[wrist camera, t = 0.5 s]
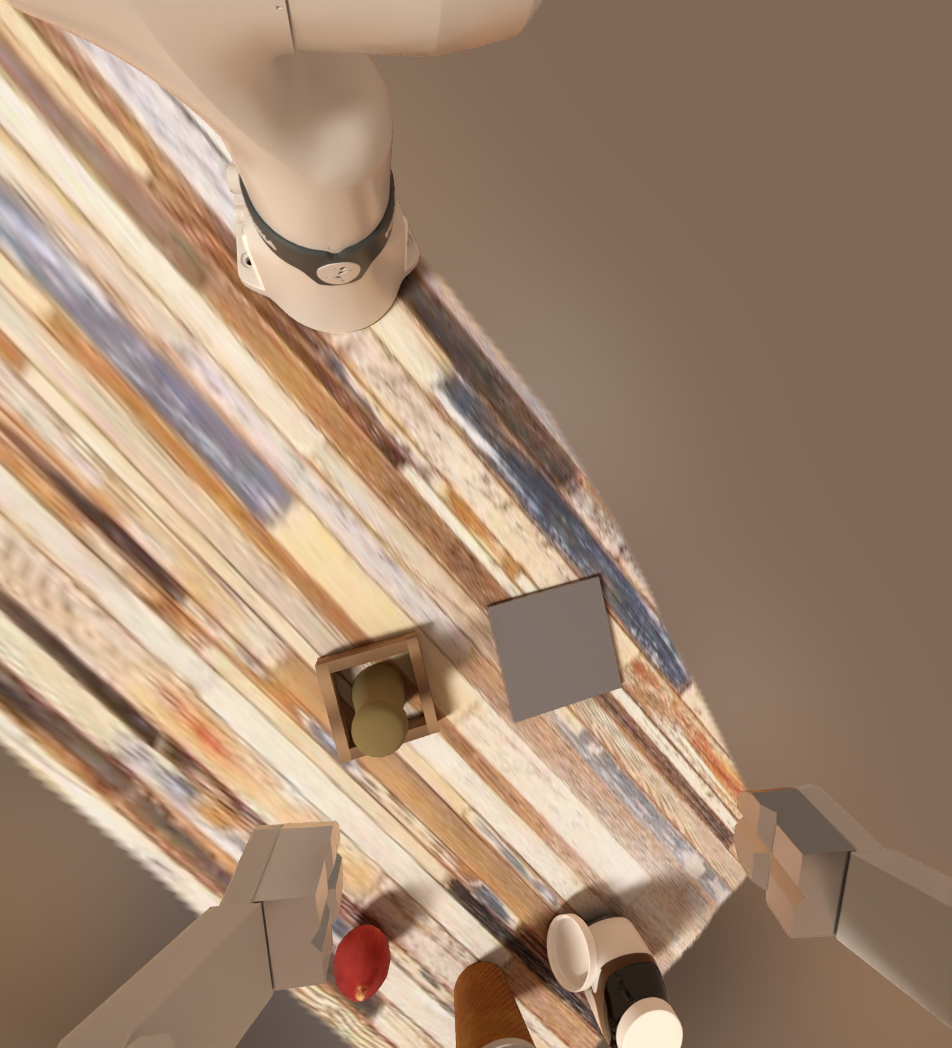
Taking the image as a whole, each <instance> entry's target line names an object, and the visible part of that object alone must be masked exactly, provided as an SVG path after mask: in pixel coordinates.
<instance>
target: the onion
mask: <svg viewBox="0 0 952 1048" xmlns="http://www.w3.org/2000/svg"><path fill="white" fill-rule="evenodd" d="M389 965H390V950H389V945H388V941H387V938H386V937H385V935H384V934H383V933H382V932H381V930H380V929H378V928H377V927H375V926H373V925H362V926H359V927H356V928H354V929H353V930H351V931H350V932H348V933H347V935H346V936H345V937H344V938H343V940H342V941H341V942H340V943H339V945H338V947H337V950H336V954H335V958H334V963H333V967H334V976H335V981H336V985H337V987H338V988H339V990H340V991H341V993H342V994H343V996H345V997H346V998H348V999H350V1000H351V1001H354V1002H362V1001H364V1000H367V999H369V998H371V997H372V996H373V995H374V994H375V993H376V992H377V990H378V989H379V988H380V987H381V985H382V983H383V982H384V980H385V979H386V977H387V974H388V970H389Z"/></svg>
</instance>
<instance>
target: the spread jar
mask: <svg viewBox="0 0 952 1048" xmlns="http://www.w3.org/2000/svg"><path fill="white" fill-rule="evenodd" d="M547 954H548V959H549V963H550V966H551V969H552V972H553V974H554V976H555V978H556V979H557V981H558V982H559V984H560V985H561V986H562V987H563V988H564V989H566V990H567V991H570V992H579V991H583V990H584V992H585V994H586V997H587V999H588V1002H589V1004H590V1007H591V1009H592V1011H593V1013H594V1016H595V1018H596V1020H597V1023H598V1025H599V1027H600V1029H601V1032H602V1034H603V1036H604V1038H605V1039H606V1041H607V1043H608V1044H609V1046H610V1047H611V1048H680V1047H681V1043H682V1037H683V1032H682V1026H681V1024H680V1021H679V1019H678V1018H677V1016H676V1015H675V1013H674V1011H673V1010H672V1008H671V1006H670V1003H669V998H668V994H667V990H666V987H665V984H664V981H663V978H662V975H661V972H660V970H659V968H658V966H657V963H656V961H655V959H654V958H653V956H652V954H651V952H650V951H649V949H648V947H647V946H646V944H645V943H644V941H643V939H642V938H641V936H640V935H639V933H638V931H637V930H636V928H635V927H634V926H633V924H632V923H631V922H630V921H629V920H628V919H626V918H624V917H621V916H604V917H600V918H597V919H595V920H593V921H591V922H590V923H588V924H586V923H585V922H584V921H583V920H582V919H581V918H580V917H579V916H577V915H575V914H571V913H570V914H561V915H558V916H556V917H555V918H554V919H553V920H552V922H551V924H550V926H549V929H548V934H547Z"/></svg>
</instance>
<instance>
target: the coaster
mask: <svg viewBox="0 0 952 1048" xmlns="http://www.w3.org/2000/svg"><path fill="white" fill-rule="evenodd" d="M486 607H487V611H488V615H489V620H490V624H491V628H492V633H493V637H494V641H495V646H496V650H497V655H498V659H499V663H500V668H501V672H502V676H503V681H504V685H505V690H506V694H507V698H508V703H509V707H510V711H511V716H512V720H513V722H514V723H516V722H519V721H522V720H525V719H528V718H531V717H534V716H537V715H540V714H543V713H546V712H549V711H552V710H555V709H558V708H561V707H564V706H567V705H570V704H573V703H576V702H579V701H582V700H585V699H588V698H591V697H594V696H597V695H600V694H603V693H606V692H610V691H613V690H616V689H619V688H622V684H621V680H620V675H619V670H618V665H617V661H616V656H615V651H614V646H613V642H612V637H611V632H610V627H609V622H608V618H607V613H606V608H605V603H604V599H603V594H602V589H601V584H600V580H599V577H598V576H593V577H590V578H586V579H582V580H579V581H575V582H572V583H568V584H565V585H561V586H557V587H554V588H550V589H547V590H543V591H539V592H536V593H532V594H529V595H525V596H521V597H518V598H514V599H511V600H507V601H503V602H500V603H496V604H493V605H489V606H486Z"/></svg>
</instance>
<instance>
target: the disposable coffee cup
mask: <svg viewBox="0 0 952 1048" xmlns="http://www.w3.org/2000/svg"><path fill="white" fill-rule="evenodd" d="M454 1007H455V1032H456V1048H536V1047H535V1045H534V1043H533V1041H532V1038H531V1036H530V1034H529V1031H528V1029H527V1026H526V1024H525V1022H524V1019H523V1017H522V1015H521V1013H520V1010H519V1008H518V1006H517V1003H516V1001H515V999H514V996H513V994H512V992H511V989H510V987H509V984H508V983H507V980H506V978H505V975H504V973H503V971H502V970H501V968H500V967H498V966H497V965H495V964H493V963H491V962H479V963H476V964H473V965H471V966H470V967H468V968H467V969H466V970H465V971H463V972H462V974H461V975H460V976H459V978H458V979H457V982H456V984H455V988H454Z"/></svg>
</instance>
